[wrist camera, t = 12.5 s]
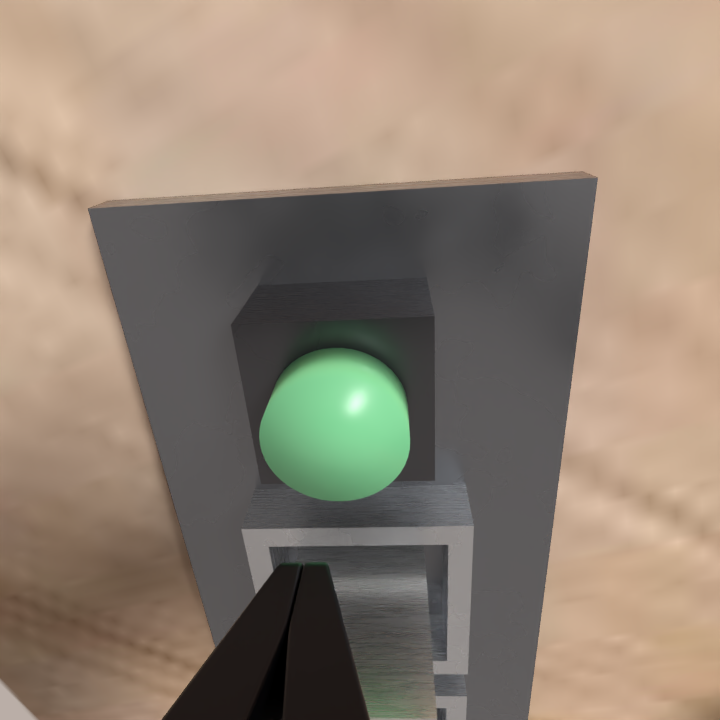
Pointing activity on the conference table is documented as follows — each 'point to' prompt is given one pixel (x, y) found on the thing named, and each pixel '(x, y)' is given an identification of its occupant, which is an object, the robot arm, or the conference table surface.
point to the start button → (336, 425)
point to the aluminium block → (385, 624)
